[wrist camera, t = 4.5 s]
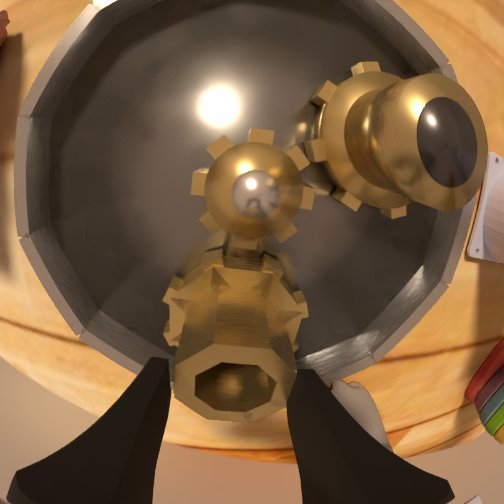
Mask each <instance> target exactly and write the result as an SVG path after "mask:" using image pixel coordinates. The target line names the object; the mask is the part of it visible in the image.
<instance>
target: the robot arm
mask: <svg viewBox="0 0 504 504" xmlns="http://www.w3.org/2000/svg"><path fill="white" fill-rule="evenodd" d="M467 255H468V256H470V257H473V258H478V259H483V260H488V261H493V262H497V263H502V264H504V159H503V158H501V157H500V156H498V155H497V154H496V153H494V152H489V153H488V159H487V167H486V172H485V175H484V181H483V187H482V192H481V197H480V202H479V206H478V211H477V215H476V219H475V223H474V227H473V230H472V234H471V237H470V241H469V244H468V247H467ZM170 399H171V385H170V373H169V359H165V358H159V357H153V356H152V357H151V358H150V359H149V360H148V362H147V363H146V364H145V366H144V367H143V369H142V370H141V371H140V373H139V374H138V375H137V377H136V378H135V379H134V381H133V382H132V383H131V384H130V386H129V387H128V388H127V389H126V390H125V392H124V393H123V394H122V395H121V396H120V398H119V399H118V400H117V401H116V402H115V403H114V404H113V405H112V406H111V407H110V408H109V409H108V410H107V412H106V413H105V414H104V415H103V416H101V417H100V418H99V419H98V420H97V421H96V422H95V423H94V424H93V425H92V426H91V427H89V428H88V429H87V430H86V431H85V432H83V433H82V434H81V435H79V436H78V437H77V438H76V439H74V440H73V441H72V442H70V443H69V444H67V445H66V446H64V447H63V448H61V449H60V450H58V451H56V452H54V453H53V454H51V455H49V456H48V457H46V458H45V459H42V460H40V461H39V462H36V463H34V464H32V465H29V466H27V467H25V468H22V469H20V470H18V471H16V473H15V475H14V477H13V480H12V482H11V485H10V488H9V491H8V494H7V497H6V499H7V501H8V502H9V503H10V504H152V499H153V487H154V477H155V469H156V463H157V459H158V455H159V451H160V447H161V443H162V439H163V435H164V431H165V427H166V423H167V419H168V414H169V407H170ZM286 406H287V417H288V425H289V430H290V434H291V439H292V443H293V447H294V451H295V455H296V460H297V464H298V468H299V474H300V479H301V490H302V501H303V504H447V503H448V502H450V501H451V500H453V499H454V498H455V495H454V493H453V491H452V489H451V487H450V484H449V482H448V481H447V480H445V479H443V478H440V477H438V476H435V475H432V474H430V473H427V472H425V471H423V470H421V469H419V468H417V467H415V466H414V465H412V464H410V463H408V462H406V461H405V460H403V459H402V458H400V457H399V456H397V455H396V454H394V453H393V452H391V451H390V450H388V449H387V448H386V447H384V446H383V445H382V444H381V443H379V442H378V441H377V440H376V439H375V438H373V437H372V436H371V435H370V434H369V433H368V432H367V431H366V430H365V429H364V428H363V427H362V426H361V425H360V424H359V423H358V422H357V421H356V420H355V419H354V418H353V417H352V416H351V415H350V414H349V413H348V411H347V410H346V409H345V408H344V407H343V406H342V404H341V403H340V402H339V401H338V400H337V398H336V397H335V396H334V395H333V393H332V392H331V391H330V390H329V388H328V387H327V386H326V384H325V383H324V382H323V380H322V379H321V378H320V377H319V375H318V374H317V373H316V371H315V370H314V369H298V370H297V376H296V379H295V381H294V384H293V387H292V389H291V392H290V395H289V397H288V400H287V402H286ZM8 502H6V501H5V500H3V499H1V498H0V504H9V503H8ZM464 504H483V503H482V501H481V499H480V497H479V495H476V496H475V497H473V498H472V499H470V500H468V501H467V502H465V503H464Z"/></svg>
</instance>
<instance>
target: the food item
mask: <svg viewBox="0 0 504 504" xmlns="http://www.w3.org/2000/svg"><path fill="white" fill-rule="evenodd" d="M9 22H10V21H9V19H8V14H7V11H4V10H3V11H1V12H0V48H1V46H2V44H3V41H4V40H5V38H6V36H7V30H6V26H7V25H8V24H9Z"/></svg>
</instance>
